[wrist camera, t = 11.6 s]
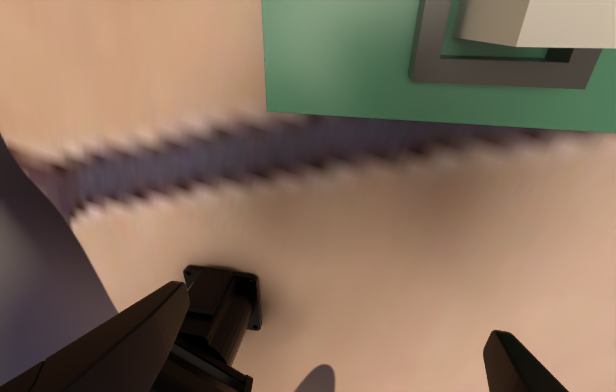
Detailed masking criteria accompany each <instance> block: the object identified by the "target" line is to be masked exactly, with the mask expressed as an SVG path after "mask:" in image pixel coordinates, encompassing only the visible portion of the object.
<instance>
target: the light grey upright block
mask: <svg viewBox="0 0 616 392" xmlns="http://www.w3.org/2000/svg"><path fill="white" fill-rule="evenodd" d="M452 37H455V38H461V39H468V40H474V41H481V42H487V43H494V44H500V45H507V46H513V47H551V48H614V49H616V0H459V4H458V9H457V14H456V18H455V23H454V28H453V33H452Z"/></svg>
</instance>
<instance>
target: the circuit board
mask: <svg viewBox="0 0 616 392" xmlns="http://www.w3.org/2000/svg"><path fill="white" fill-rule="evenodd" d="M261 2H262V22H263V42H264V63H265V83H266V103H267V112H281V113H297V114H313V115H330V116H346V117H362V118H379V119H395V120H411V121H428V122H444V123H460V124H477V125H493V126H509V127H526V128H542V129H558V130H575V131H591V132H607V133H616V49H614V48H551V47H513V46H507V45H500V44H494V43H487V42H481V41H474V40H468V39H461V38H455V37H452V33H453V28H454V23H455V18H456V14H457V9H458V4H459V0H261Z"/></svg>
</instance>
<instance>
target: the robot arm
mask: <svg viewBox="0 0 616 392" xmlns="http://www.w3.org/2000/svg"><path fill="white" fill-rule="evenodd" d="M183 273H184V277H185V281H186V284H185V283H183V282H178V281H171V282H169V283H167V284H165V285H164V286H162V287H161V288H159V289H157V290H156V291H154V292H153V293H151V294H149V295H148V296H146V297H144V298H143V299H141V300H140V301H138V302H136V303H135V304H133V305H132V306H130V307H128V308H127V309H125V310H123V311H122V312H120V313H119V314H117V315H115V316H114V317H112V318H111V319H109V320H107V321H106V322H104V323H103V324H101V325H99V326H98V327H96V328H94V329H93V330H91V331H90V332H88V333H86V334H85V335H83V336H81V337H80V338H78V339H77V340H75V341H73V342H72V343H70V344H69V345H67V346H65V347H64V348H62V349H60V350H59V351H57V352H56V353H54V354H52V355H51V356H49V357H47V358H46V359H45V361H41V362H39V363H38V364H36V365H34V366H33V367H31V368H30V369H28V370H26V371H25V372H23V373H21V374H20V375H18V376H16V377H15V378H13V379H11V380H10V381H8V382H6V383H5V384H3V385H1V386H0V392H251V389H252V383H253V378H252V377H250V376H248V375H244V374H242V373H241V372H239V371H237V370H236V369H234V368H232V367H231V366H232V364H233V361H234V359H235V356H236V354H237V351H238V349H239V346H240V344H241V342H242V339H243V337H244V334H245V332H246V329H249V330H255V331H258V330H260V328H261V325H262V321H261V309H260V298H259V286H258V279H257V277H256V276H254V275H251V274H244V273H237V272H230V271H223V270H216V269H209V268H202V267H195V266H187V267H186V268H185V269H184V271H183ZM250 280H251V281H250ZM186 286H187V287H186ZM483 357H484V363H485V369H486V374H487V380H488V386H489V391H490V392H569V391H568V390H567V389H566V388H565V387H564V386H563V385H562V384H561V383H560V382H559V381H558V380H557V379H556V378H555V377H554V376H553V375H552V374H551V373H550V372H549V371H548V370H547V369H546V368H545V367H544V366H543V365H542V364H541V363H540V362H539V361H538V360H537V359H536V358H535V357H534V356H533V355H532V354H531V353H530V352H529V351H528V350H527V349H526V347H525V346H524V345H523V344H522V343H521V342H520V341H519V340H518V339H517V338H516V337H515V336H514V335H513V334H511V333H510V332H506V331H500V330H493V331H492V332H491V334H490V336H489V338H488V340H487V343H486V345H485V347H484V350H483Z"/></svg>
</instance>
